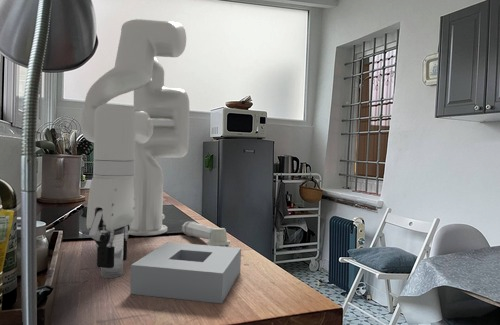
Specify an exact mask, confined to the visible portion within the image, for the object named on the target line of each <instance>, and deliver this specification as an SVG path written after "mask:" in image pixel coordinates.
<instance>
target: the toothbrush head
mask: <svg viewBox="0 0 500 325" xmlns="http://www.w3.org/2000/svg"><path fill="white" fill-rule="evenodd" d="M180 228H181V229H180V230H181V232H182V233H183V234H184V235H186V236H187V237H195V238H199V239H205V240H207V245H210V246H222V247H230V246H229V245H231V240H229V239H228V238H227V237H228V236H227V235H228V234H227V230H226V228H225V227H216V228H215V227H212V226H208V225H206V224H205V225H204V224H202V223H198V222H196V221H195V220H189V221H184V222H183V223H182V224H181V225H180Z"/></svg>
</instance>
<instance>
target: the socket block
mask: <svg viewBox="0 0 500 325" xmlns="http://www.w3.org/2000/svg"><path fill="white" fill-rule="evenodd" d="M241 262H242V248H241V247H235V246H229V247H222V246H210V245H208V244H197V243H196V244H195V243H185V242H184V243H182V242H171V241H168V242H164V243H163V244H162V245H160V246H159V247H157V248H156V249H154V250H153V251H150V252H149V253H148V254H146V255H145V256H144V255H143V257H141V258H140V259H138V260H137V261H135V262H133V263H132V264H130V295H138V296H147V297H156V298H165V299H166V298H167V299H175V300H186V301H193V302H194V301H195V302H204V303H212V304H214V303H215V304H223V303H224V301H225V299H226V297H227V295H228V294H229V292H230V291H231V289H232V287H233V285H234V284H235V281H236V280H237V278H238V277H239V274H240V273H241V264H242V263H241Z"/></svg>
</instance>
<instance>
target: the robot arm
mask: <svg viewBox="0 0 500 325" xmlns="http://www.w3.org/2000/svg"><path fill="white" fill-rule="evenodd" d="M186 46H187V32H186V28H185V27H184V25H183V24H181V23H180V22H174V21H167V20H153V19H143V18H142V19H141V18H140V19H139V18H138V19H137V18H136V19H131V20H127V21H125V22H124V23H122V24H121V29H120V35H119V41H118V47H117V51H116V52H117V53H116V57H115V63H114V67H113V68H111V69H109V70H108V71H107V72H105V73H104V74H103V75H101V76H100V77H99V78H98V79H97V80H96V81H95V82H94V83H93V84H92V85H91V86H90V88H88V91H87V93H86V96H85V98H84V99H85V100H84V103H83V107H82V108H83V109H82V111H81V112H82V113H81V118H80V130H81V133H82V135H83V137H84V139H86V140H87V141H88V142H91V143H93V169H92V170H93V174H92V177H91V181H90V186H89V191H88V199H87V210H86V211H87V212H86V228H87V230H89V233H88V235H89V237H90V238H91V239H93V241H94V242H95V247H96V249H97V251H96V252H97V253H96V255H97V256H96V257H97V258H96V266H97V268H101V267H102V268H113V267H114V249H115V247H113V246H112V244H113V236H114V230H116V229H119V228H122V227H123V228H124V244H123V262H125V261H126V260H127V258H128V257H127V255H128V251H127V250H128V239H129V235H131V236H143V237H147V236H148V237H149V236H157V235H162V234H165V233H166V232H168V226H167V225H165V224H163V220H164V219H165V218H166V215H165V214H164V213H163V211H164V210H163V209H164V208H163V206H164V205H163V204H164V202H163V201H164V171H163V168H162V167H161V165H160V163H158V161H157V160H156V159H155V158H172V159H173V158H179V159H180V158H184V157H185V156H186V155H187V154H188V152H189V147H190V143H189V142H190V99H189V95H188V93H187V92H186V90H184V89H182V88H177V87H165V70H164V68H163V65H162V64H161V62H160V61H159V60H158V59H157V57H162V58H163V57H164V58H179V57H180V56H181V55H182V54H183V53H184V51H185V50H186ZM130 92H133V108H132V107H131V106H127V105H120V104H107V103H108V102H109V101H111V100H113V99H115V98H117V97H119V96H122V95H124V94H127V93H130ZM154 121H171V122H172V123H173V125H171V124H154ZM105 227H106V230H103V228H105ZM103 233H108V237H106V236H105V235H103Z"/></svg>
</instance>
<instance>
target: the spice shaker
mask: <svg viewBox="0 0 500 325" xmlns="http://www.w3.org/2000/svg"><path fill="white" fill-rule="evenodd" d="M103 230H106V227H103ZM103 235H105V236H106V237H108V233H103ZM123 244H124V228H123V227H122V228H119V229H116V230H114V236H113V244H112V246H113V247H115V249H114V267H113V268H102V267H100V276H101V277H102V278H105V279H113V278H114V279H115V278H119V277H121V276H123V274H124V261H123Z"/></svg>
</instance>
